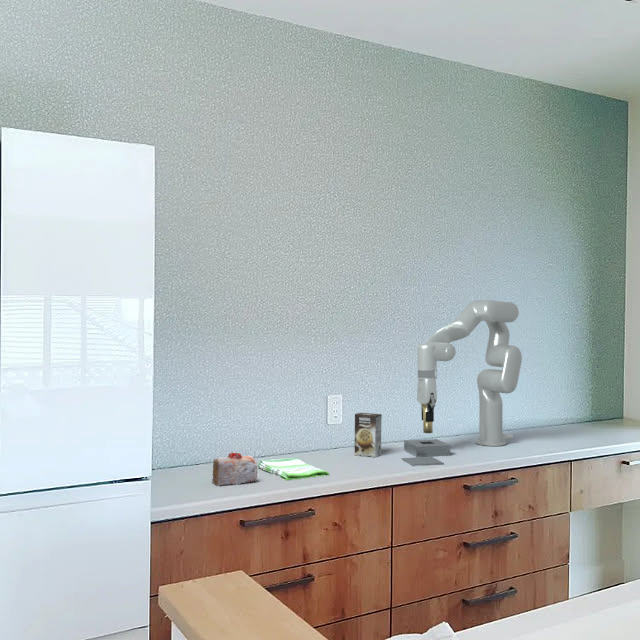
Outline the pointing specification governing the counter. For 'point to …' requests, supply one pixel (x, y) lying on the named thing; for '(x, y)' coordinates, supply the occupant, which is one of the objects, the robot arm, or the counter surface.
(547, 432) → the counter surface
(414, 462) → the mat
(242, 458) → the food item
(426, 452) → the block
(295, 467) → the dish towel
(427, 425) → the brass flanged peg
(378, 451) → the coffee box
